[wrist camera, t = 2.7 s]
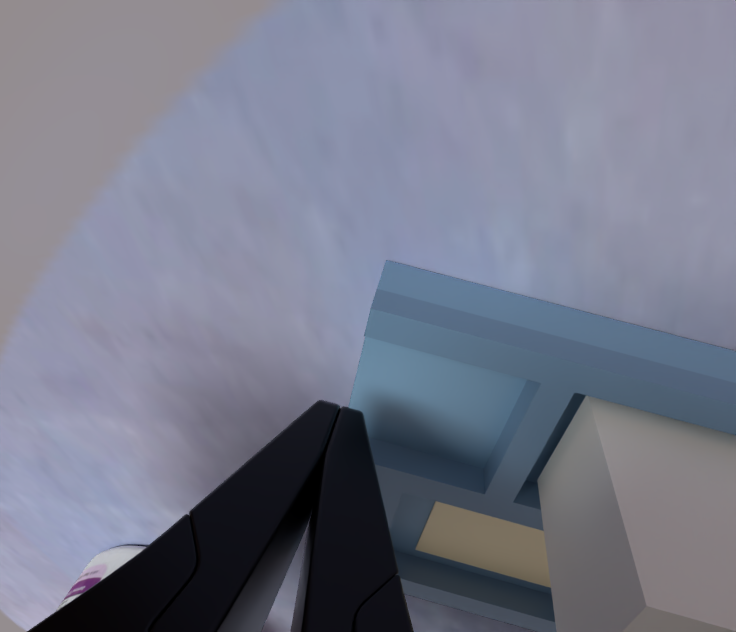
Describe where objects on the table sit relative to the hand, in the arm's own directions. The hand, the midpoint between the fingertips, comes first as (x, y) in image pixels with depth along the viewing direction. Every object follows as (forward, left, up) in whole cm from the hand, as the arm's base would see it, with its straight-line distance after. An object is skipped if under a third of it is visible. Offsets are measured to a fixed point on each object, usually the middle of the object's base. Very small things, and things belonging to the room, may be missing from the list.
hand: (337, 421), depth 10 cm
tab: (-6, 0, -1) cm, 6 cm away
